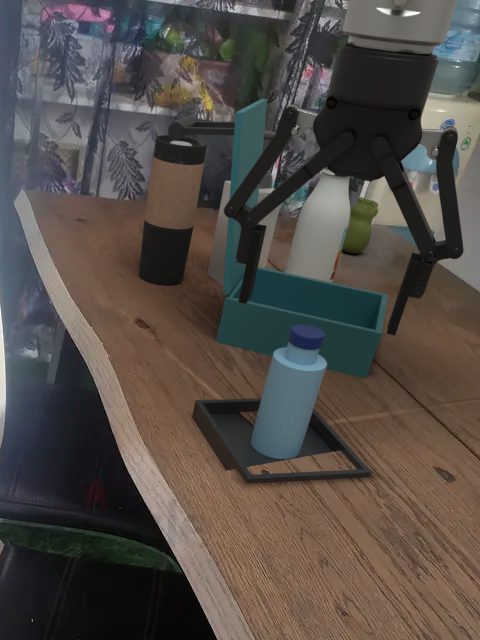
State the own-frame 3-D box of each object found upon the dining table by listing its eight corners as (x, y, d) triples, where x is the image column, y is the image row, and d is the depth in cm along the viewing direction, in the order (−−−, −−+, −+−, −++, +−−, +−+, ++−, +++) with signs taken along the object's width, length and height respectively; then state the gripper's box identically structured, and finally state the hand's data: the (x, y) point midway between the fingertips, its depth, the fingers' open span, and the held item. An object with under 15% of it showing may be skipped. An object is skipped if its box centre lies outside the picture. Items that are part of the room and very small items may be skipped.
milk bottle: (319, 303, 116) (358, 166, 104) (273, 289, 119) (307, 154, 107) (334, 291, 121) (374, 159, 109) (290, 278, 124) (324, 149, 112)
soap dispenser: (234, 268, 125) (265, 125, 112) (260, 287, 119) (296, 137, 106) (200, 269, 123) (227, 123, 110) (225, 288, 117) (257, 135, 104)
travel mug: (130, 279, 116) (148, 139, 104) (145, 265, 122) (164, 132, 110) (176, 289, 114) (200, 149, 102) (189, 275, 120) (213, 141, 108)
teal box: (372, 340, 105) (388, 294, 101) (364, 384, 93) (381, 333, 89) (239, 310, 110) (249, 264, 106) (214, 347, 98) (225, 297, 94)
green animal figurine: (330, 250, 140) (346, 194, 134) (346, 246, 143) (362, 192, 137) (355, 259, 137) (372, 202, 131) (370, 255, 140) (388, 200, 134)
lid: (267, 98, 94) (192, 98, 97) (242, 112, 82) (158, 111, 85) (252, 261, 105) (186, 256, 108) (228, 294, 93) (154, 288, 96)
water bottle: (309, 455, 76) (347, 340, 69) (268, 462, 74) (302, 344, 67) (280, 430, 80) (313, 318, 72) (240, 436, 78) (269, 322, 70)
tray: (365, 489, 73) (372, 472, 72) (243, 496, 70) (248, 478, 69) (299, 413, 85) (304, 397, 84) (191, 416, 82) (195, 399, 80)
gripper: (219, 27, 56) (177, 298, 69) (575, 71, 50) (457, 359, 63) (239, 24, 62) (197, 275, 74) (561, 63, 56) (456, 328, 68)
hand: (316, 314), depth 68 cm, fingers open, 13 cm apart
